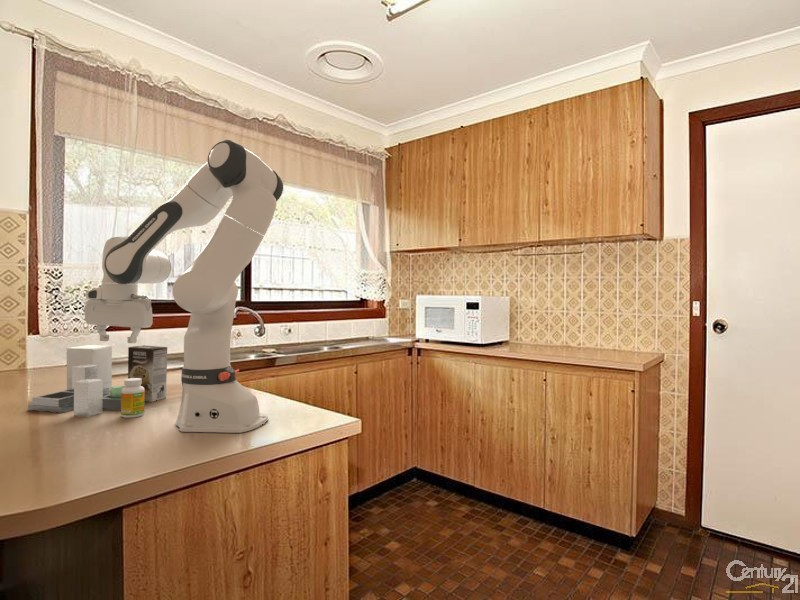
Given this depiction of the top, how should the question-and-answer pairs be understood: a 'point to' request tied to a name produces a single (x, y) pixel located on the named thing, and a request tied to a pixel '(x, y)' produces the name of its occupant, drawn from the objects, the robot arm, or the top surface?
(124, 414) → the supplement bottle
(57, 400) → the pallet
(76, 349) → the supplement box
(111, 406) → the grey square frame
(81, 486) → the top surface
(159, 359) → the coffee box
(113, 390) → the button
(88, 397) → the billet
